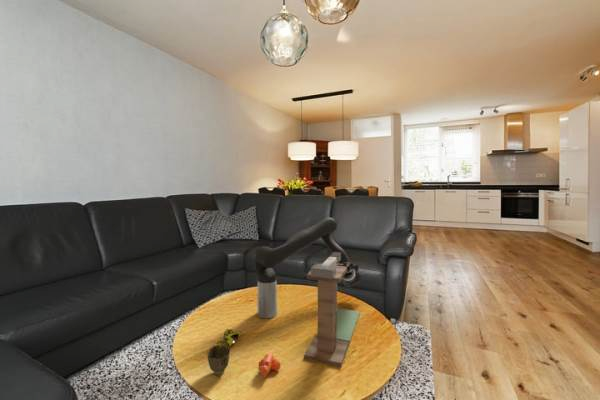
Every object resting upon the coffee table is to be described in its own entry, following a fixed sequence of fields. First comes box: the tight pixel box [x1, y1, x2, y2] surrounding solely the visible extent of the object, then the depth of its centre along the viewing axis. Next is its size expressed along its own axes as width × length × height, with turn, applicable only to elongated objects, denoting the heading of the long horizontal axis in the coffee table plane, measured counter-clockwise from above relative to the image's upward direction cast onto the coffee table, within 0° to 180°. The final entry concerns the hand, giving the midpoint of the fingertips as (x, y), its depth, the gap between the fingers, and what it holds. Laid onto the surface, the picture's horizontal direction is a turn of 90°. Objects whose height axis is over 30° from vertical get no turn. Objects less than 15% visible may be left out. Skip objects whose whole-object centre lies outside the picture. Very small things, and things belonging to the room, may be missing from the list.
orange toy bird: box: [258, 348, 281, 379], centre depth 100 cm, size 5×8×12 cm
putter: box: [310, 252, 341, 279], centre depth 111 cm, size 24×8×3 cm, turn 159°
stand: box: [303, 263, 350, 368], centre depth 109 cm, size 14×14×32 cm
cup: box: [206, 344, 231, 376], centre depth 98 cm, size 8×7×8 cm
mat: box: [316, 307, 361, 344], centre depth 131 cm, size 27×14×1 cm, turn 159°
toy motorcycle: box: [215, 328, 242, 348], centre depth 117 cm, size 12×4×7 cm
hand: (340, 263), depth 130 cm, fingers open, 8 cm apart
